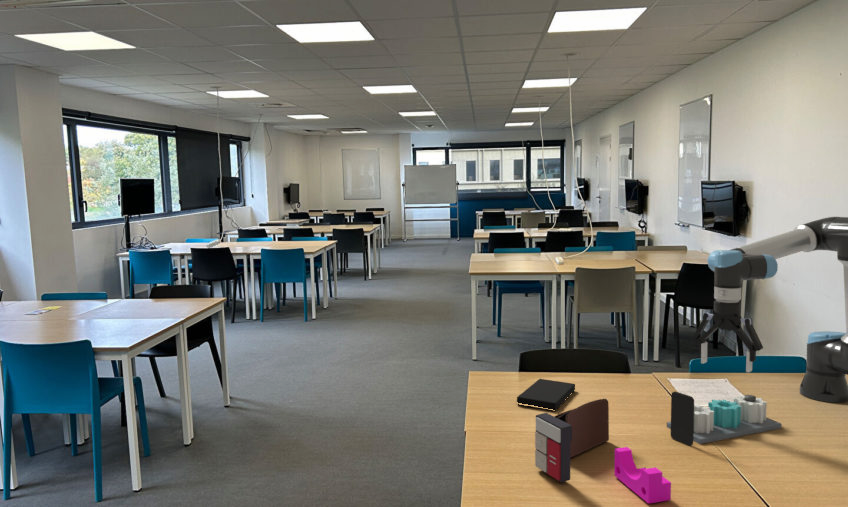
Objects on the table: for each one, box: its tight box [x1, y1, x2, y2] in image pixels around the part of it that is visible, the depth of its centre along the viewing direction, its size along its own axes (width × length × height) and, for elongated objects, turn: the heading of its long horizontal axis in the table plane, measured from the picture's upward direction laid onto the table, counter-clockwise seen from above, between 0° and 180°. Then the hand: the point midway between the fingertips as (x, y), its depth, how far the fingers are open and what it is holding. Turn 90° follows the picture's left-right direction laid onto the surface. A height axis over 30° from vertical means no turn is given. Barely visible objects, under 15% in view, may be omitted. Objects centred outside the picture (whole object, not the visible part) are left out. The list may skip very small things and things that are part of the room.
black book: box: [516, 378, 576, 411], centre depth 220 cm, size 14×23×3 cm, turn 149°
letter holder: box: [553, 398, 610, 459], centre depth 179 cm, size 10×20×14 cm, turn 128°
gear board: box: [666, 394, 782, 445], centre depth 188 cm, size 32×14×9 cm, turn 109°
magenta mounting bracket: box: [613, 446, 672, 504], centre depth 153 cm, size 15×6×8 cm, turn 14°
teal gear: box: [707, 399, 741, 428], centre depth 189 cm, size 9×9×6 cm
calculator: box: [534, 412, 572, 483], centre depth 161 cm, size 11×4×15 cm, turn 28°
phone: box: [670, 391, 695, 447], centre depth 178 cm, size 7×1×15 cm, turn 31°
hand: (725, 367), depth 187 cm, fingers open, 13 cm apart
